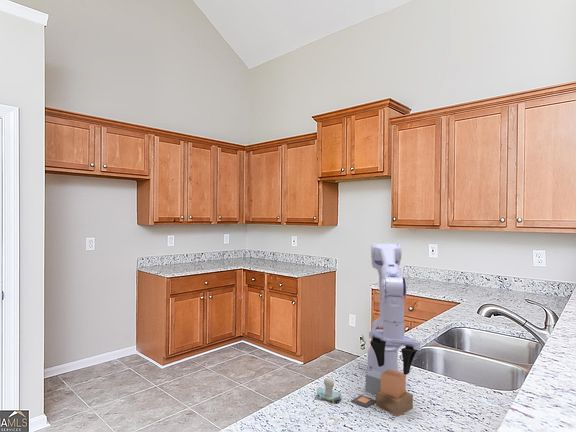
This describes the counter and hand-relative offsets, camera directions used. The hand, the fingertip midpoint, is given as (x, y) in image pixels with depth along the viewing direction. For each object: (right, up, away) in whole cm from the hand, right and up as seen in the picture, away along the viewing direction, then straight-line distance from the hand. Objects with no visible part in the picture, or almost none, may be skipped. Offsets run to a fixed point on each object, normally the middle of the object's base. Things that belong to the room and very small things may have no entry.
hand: (393, 369), depth 100 cm
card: (-8, -10, +2) cm, 13 cm away
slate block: (-2, -10, +9) cm, 14 cm away
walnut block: (0, -10, -1) cm, 10 cm away
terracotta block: (0, -6, 0) cm, 6 cm away
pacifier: (-17, -10, +4) cm, 20 cm away
